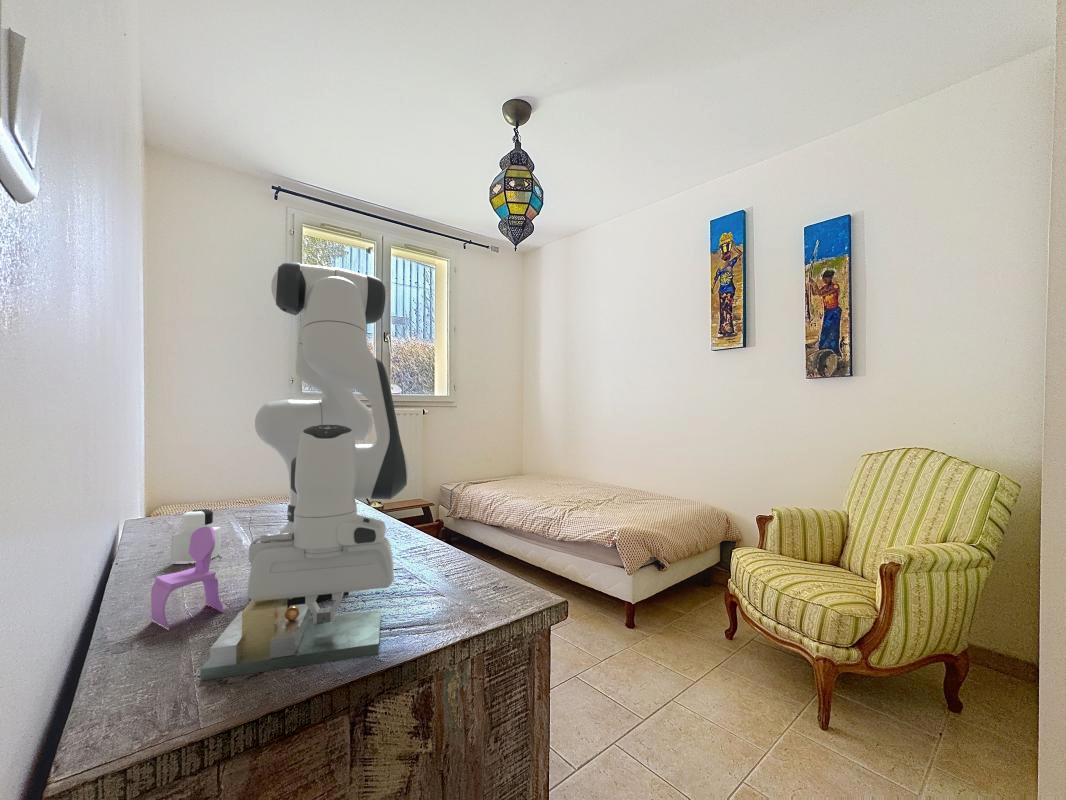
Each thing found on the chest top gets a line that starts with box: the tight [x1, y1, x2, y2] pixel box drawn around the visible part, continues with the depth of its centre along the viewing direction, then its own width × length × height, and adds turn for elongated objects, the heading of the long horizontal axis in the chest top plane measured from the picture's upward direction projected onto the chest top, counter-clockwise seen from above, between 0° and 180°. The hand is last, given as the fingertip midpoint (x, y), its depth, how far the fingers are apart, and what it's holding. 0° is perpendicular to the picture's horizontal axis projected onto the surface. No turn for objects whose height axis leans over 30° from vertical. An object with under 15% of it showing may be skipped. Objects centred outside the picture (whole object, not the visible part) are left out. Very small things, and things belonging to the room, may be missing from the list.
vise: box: [199, 609, 382, 682], centre depth 67 cm, size 12×22×4 cm, turn 107°
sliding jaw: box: [270, 604, 311, 658], centre depth 67 cm, size 12×3×4 cm, turn 17°
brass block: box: [241, 598, 287, 656], centre depth 66 cm, size 4×8×6 cm, turn 17°
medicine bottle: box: [170, 508, 222, 561], centre depth 109 cm, size 7×7×12 cm
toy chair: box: [150, 526, 225, 628], centre depth 77 cm, size 8×9×15 cm
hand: (324, 622), depth 68 cm, fingers closed
